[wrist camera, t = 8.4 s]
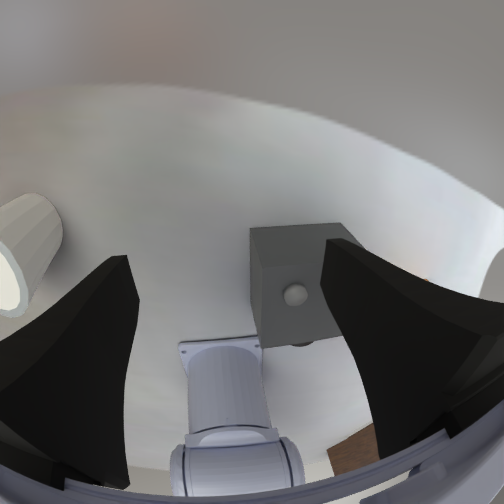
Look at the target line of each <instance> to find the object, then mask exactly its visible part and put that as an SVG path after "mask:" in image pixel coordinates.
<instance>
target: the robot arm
mask: <svg viewBox="0 0 504 504" xmlns="http://www.w3.org/2000/svg"><path fill="white" fill-rule="evenodd" d="M320 286H321V289H322V292H323V295H324V298H325V300H326V303H327V306H328V308H329V310H330V312H331V314H332V316H333V318H334V319H335V321H336V323H337V325H338V327H339V329H340V331H341V333H342V335H343V337H344V339H345V341H346V343H347V345H348V346H349V348H350V350H351V353H352V355H353V357H354V359H355V362H356V365H357V368H358V370H359V373H360V376H361V379H362V382H363V385H364V389H365V392H366V396H367V399H368V403H369V407H370V411H371V415H372V419H373V424H374V429H375V435H376V441H377V447H378V455H379V458H380V460H379V461H377V462H374V463H372V464H369V465H367V466H364V467H361V468H358V469H356V470H353V471H350V472H347V473H344V474H340V475H337V476H334V477H330V478H327V479H324V480H319V481H316V482H312V483H307V484H305V473H304V467H303V463H302V459H301V456H300V453H299V451H298V448H297V447H296V445H295V444H294V443H293V442H292V441H290V440H289V439H288V438H287V437H280V438H279V434H278V430H277V428H272V426H271V421H270V417H269V412H268V407H267V403H266V398H265V393H264V389H263V384H262V379H261V377H262V349H261V348H260V344H259V339H258V336H257V337H247V338H238V339H227V340H216V341H202V342H187V343H180V344H179V345H178V350H179V353H180V357H181V360H182V363H183V366H184V369H185V372H186V375H187V378H188V421H189V434H186V435H185V444H179V445H178V446H177V447H176V448H175V449H174V450H173V451H172V454H171V458H170V479H171V487H172V491H173V495H174V496H164V495H151V494H142V493H133V492H127V491H121V490H123V489H125V488H127V487H128V486H129V485H130V480H129V475H128V469H127V461H126V454H125V442H124V388H125V379H126V372H127V367H128V363H129V358H130V353H131V349H132V344H133V340H134V335H135V331H136V327H137V321H138V313H139V303H140V299H139V296H138V293H137V289H136V286H135V283H134V279H133V276H132V272H131V269H130V265H129V262H128V258H127V255H121V256H111V257H110V258H108V259H107V260H106V261H104V262H103V263H102V264H101V265H99V266H98V267H97V268H96V269H95V270H93V271H92V272H91V273H90V274H89V275H88V276H87V277H85V278H84V279H83V280H82V281H81V282H80V283H79V284H78V285H76V286H75V287H74V288H73V289H72V290H71V291H69V292H68V293H67V294H66V295H65V296H64V297H62V298H61V299H60V300H59V301H58V302H57V303H55V304H54V305H53V306H52V307H50V308H49V309H48V310H47V311H45V312H44V313H43V314H41V315H40V316H39V317H37V318H36V319H35V320H33V321H32V322H30V323H29V324H27V325H26V326H24V327H22V328H21V329H19V330H18V331H16V332H15V333H13V334H12V335H10V336H9V337H7V338H5V339H3V340H2V341H0V504H323V503H327V502H330V501H334V500H337V499H340V498H343V497H346V496H349V495H352V494H355V493H358V492H361V491H363V490H366V489H368V488H371V487H373V486H376V485H378V484H381V483H383V482H385V481H388V480H389V479H392V478H394V477H396V476H398V475H400V474H403V473H405V472H407V471H408V470H411V471H410V472H409V476H408V478H407V479H406V480H404V481H403V482H400V483H398V484H396V485H394V486H392V487H390V488H388V489H385V490H384V491H381V492H379V493H377V494H374V495H372V496H369V497H367V498H364V499H362V500H360V504H489V503H490V502H491V501H492V500H493V498H494V497H495V496H496V495H497V493H498V492H499V491H500V489H501V488H502V487H503V485H504V303H500V302H493V301H488V300H484V299H480V298H476V297H472V296H468V295H465V294H461V293H458V292H455V291H452V290H449V289H446V288H444V287H441V286H438V285H436V284H433V283H431V282H429V281H426V280H424V279H422V278H419V277H417V276H415V275H413V274H411V273H409V272H407V271H405V270H403V269H401V268H399V267H397V266H395V265H393V264H391V263H389V262H387V261H385V260H384V259H382V258H380V257H378V256H376V255H375V254H373V253H371V252H369V251H367V250H365V249H364V248H362V247H360V246H358V245H356V244H354V243H352V242H350V241H348V240H345V239H343V238H335V239H326V247H325V254H324V261H323V267H322V273H321V280H320ZM256 344H257V345H256ZM183 350H184V351H183ZM412 468H413V469H412ZM95 485H98V486H95ZM100 486H103V487H100ZM104 486H105V487H109V488H115V489H121V490H115V489H109V488H104Z"/></svg>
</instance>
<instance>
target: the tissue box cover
mask: <svg viewBox="0 0 504 504" xmlns="http://www.w3.org/2000/svg"><path fill="white" fill-rule="evenodd" d="M327 453H328V456H329V459H330V462H331V466H332V468H333V472H334V475H335V476H337V475H340V474H344V473H347V472H350V471H353V470H356V469H358V468H361V467H364V466H367V465H369V464H372V463H374V462H377V461H379V460H380V458H379V455H378V447H377V441H376V435H375V429H374V424H373V423H371V424H369V425H368V426H366V427H365V428H363V429H361V430H360V431H358V432H356V433H355V434H353V435H351V436H349V437H348V439H346V440H344V441H342V442H340V443H339V444H337V445H335V446H333V447H331V448H329V449H327Z"/></svg>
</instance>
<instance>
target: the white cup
mask: <svg viewBox="0 0 504 504" xmlns="http://www.w3.org/2000/svg"><path fill="white" fill-rule="evenodd" d="M62 238H63V228H62V222H61V219H60V217H59V215H58V212H57V210H56V208H55V207H54V206H53V205H52V204H51V203H50V201H49V200H48V199H47V198H45V197H43V196H41V195H39V194H37V193H26V194H24V195H22V196H20V197H18V198H16V199H14V200H12V201H10V202H8V203H7V204H5V205H3V206H1V207H0V315H3V316H7V317H11V318H14V317H17V316H21V315H23V314H24V312H25V310H26V309H27V307H28V305H29V303H30V301H31V299H32V297H33V295H34V293H35V291H36V289H37V287H38V285H39V283H40V281H41V279H42V277H43V276H44V274H45V272H46V270H47V268H48V266H49V265H50V263H51V261H52V259H53V258H54V256H55V254H56V253H57V251H58V249H59V248H60V246H61V243H62Z"/></svg>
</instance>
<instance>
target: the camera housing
mask: <svg viewBox="0 0 504 504" xmlns="http://www.w3.org/2000/svg"><path fill="white" fill-rule="evenodd" d="M335 238H343V239H345V240H348V241H350V242H352V243H354V244H356V245H358V246H360V247H362V248H364V247H363V246H362V245H361V244H360V243H359V242H358V241H357V240H356V239H355V237H354V236H353V235H352V234H351V233H350V232H349V231H348V230H347V229H346V228H345V227H344V226H343V225H342V224H341V223H328V224H310V225H293V226H277V227H261V228H250V285H251V307H252V312H253V316H254V321H255V325H256V330H257V335H258V339H259V344H260V348H261V349H263V348H271V347H278V346H285V345H292V346H298V347H301V346H307V345H309V344H311V343H313V342H314V341H316V340H322V339H328V338H333V337H338V336H343V335H342V333H341V331H340V329H339V327H338V325H337V323H336V321H335V319H334V318H333V316H332V314H331V312H330V310H329V308H328V306H327V303H326V300H325V298H324V295H323V292H322V289H321V286H320V280H321V273H322V267H323V261H324V254H325V247H326V239H335ZM364 249H365V248H364ZM365 250H366V249H365Z"/></svg>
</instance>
